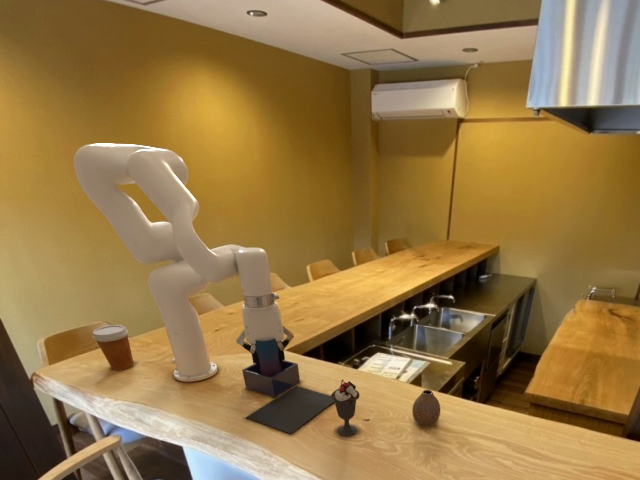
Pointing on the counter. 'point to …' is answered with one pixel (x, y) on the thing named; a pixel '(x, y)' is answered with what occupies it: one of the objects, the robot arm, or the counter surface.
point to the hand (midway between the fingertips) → (269, 363)
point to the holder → (271, 379)
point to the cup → (268, 357)
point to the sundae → (346, 406)
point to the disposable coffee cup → (114, 345)
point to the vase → (426, 409)
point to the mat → (292, 409)
